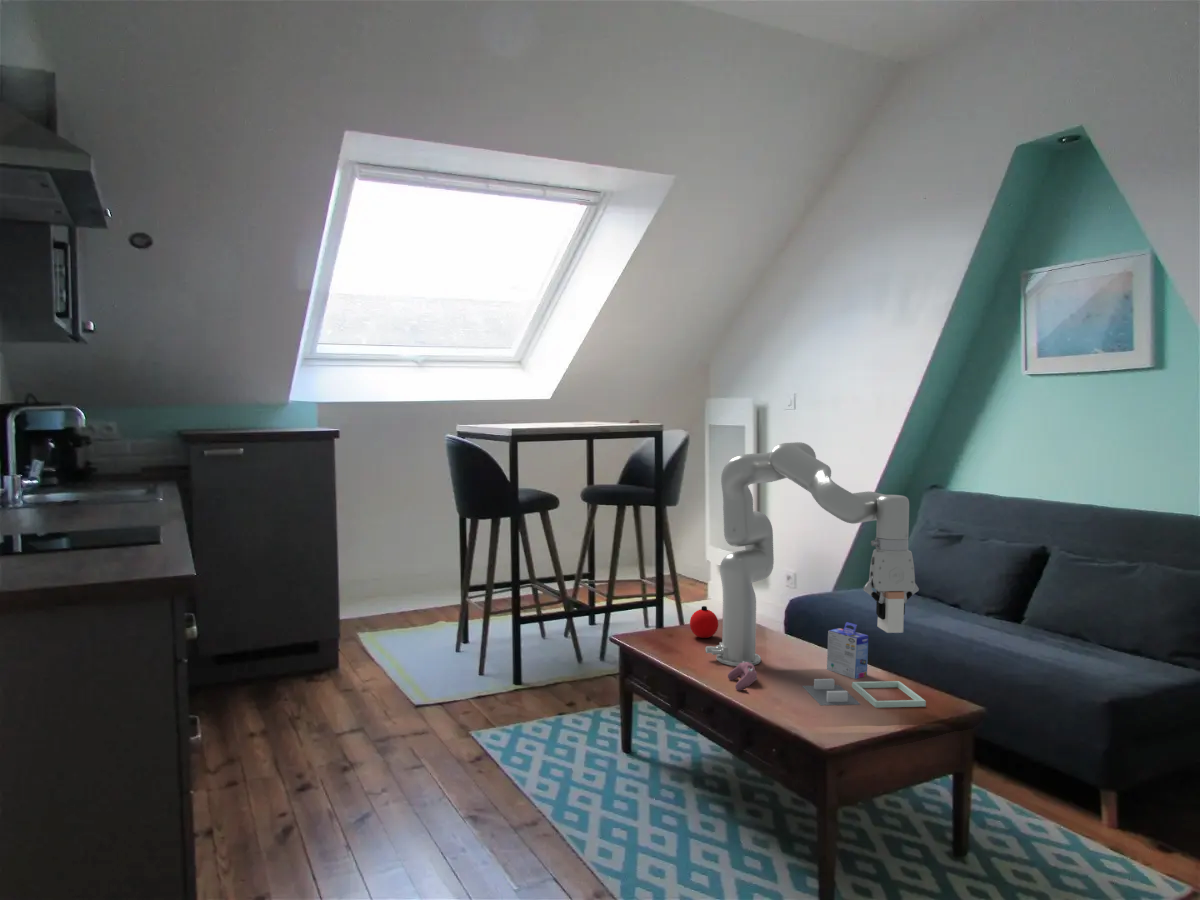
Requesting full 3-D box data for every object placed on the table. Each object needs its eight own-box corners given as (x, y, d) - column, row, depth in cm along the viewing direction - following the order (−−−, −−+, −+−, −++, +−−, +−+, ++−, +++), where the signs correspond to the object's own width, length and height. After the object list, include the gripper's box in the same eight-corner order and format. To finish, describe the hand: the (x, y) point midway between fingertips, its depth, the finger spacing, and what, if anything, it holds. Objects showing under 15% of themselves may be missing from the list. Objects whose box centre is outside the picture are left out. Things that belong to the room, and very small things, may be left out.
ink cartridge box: (868, 679, 227) (870, 626, 226) (855, 683, 224) (856, 629, 223) (838, 670, 235) (840, 618, 234) (825, 673, 232) (827, 621, 231)
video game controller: (750, 697, 217) (762, 672, 217) (734, 689, 217) (747, 665, 217) (740, 684, 227) (752, 661, 227) (725, 677, 227) (737, 654, 227)
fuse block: (820, 710, 204) (821, 695, 204) (801, 690, 218) (802, 676, 218) (860, 709, 205) (861, 694, 205) (839, 689, 219) (839, 675, 219)
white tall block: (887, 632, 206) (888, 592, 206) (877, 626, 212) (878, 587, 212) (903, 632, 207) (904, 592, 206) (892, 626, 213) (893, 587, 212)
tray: (875, 712, 203) (875, 702, 203) (851, 691, 217) (852, 682, 217) (925, 711, 204) (925, 700, 204) (898, 690, 218) (899, 680, 218)
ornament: (724, 637, 266) (724, 606, 265) (705, 643, 260) (706, 611, 259) (702, 632, 273) (702, 601, 272) (683, 637, 266) (684, 606, 266)
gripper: (865, 547, 204) (863, 622, 205) (931, 547, 205) (929, 621, 206) (853, 542, 211) (851, 614, 212) (917, 542, 213) (915, 613, 214)
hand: (890, 617), depth 209 cm, fingers closed on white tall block, 4 cm apart
